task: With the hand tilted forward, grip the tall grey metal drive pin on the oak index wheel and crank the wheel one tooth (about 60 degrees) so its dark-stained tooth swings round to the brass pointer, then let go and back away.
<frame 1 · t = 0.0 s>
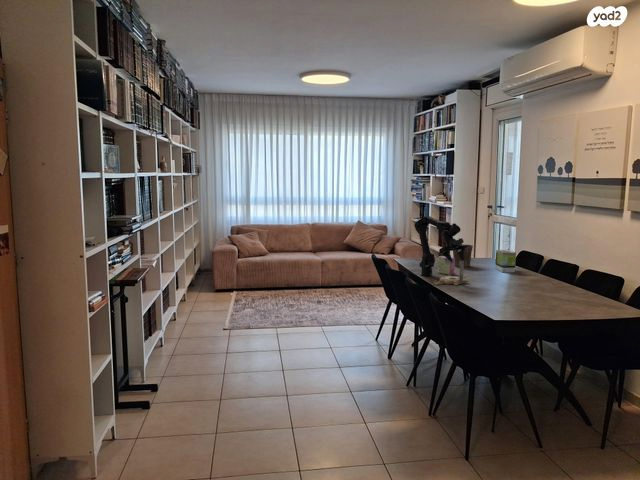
hand: (457, 261, 317), 15 cm above the table, tool tilted 35°, fingers open, 9 cm apart
tea box: (504, 270, 363), on the table
index wheel: (452, 270, 323), point 8 cm above the table, hinge at 0.0°
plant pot: (461, 266, 383), on the table
pointer: (437, 284, 318), on the table
box: (445, 273, 355), on the table
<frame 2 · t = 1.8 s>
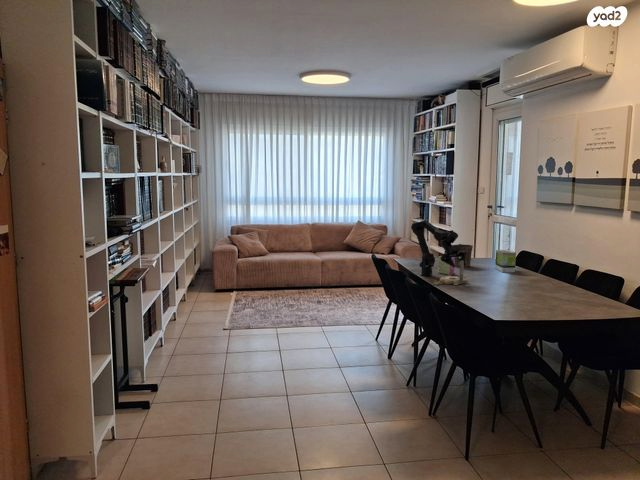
hand: (460, 266, 317), 11 cm above the table, tool tilted 45°, fingers open, 9 cm apart
nothing on the table moved.
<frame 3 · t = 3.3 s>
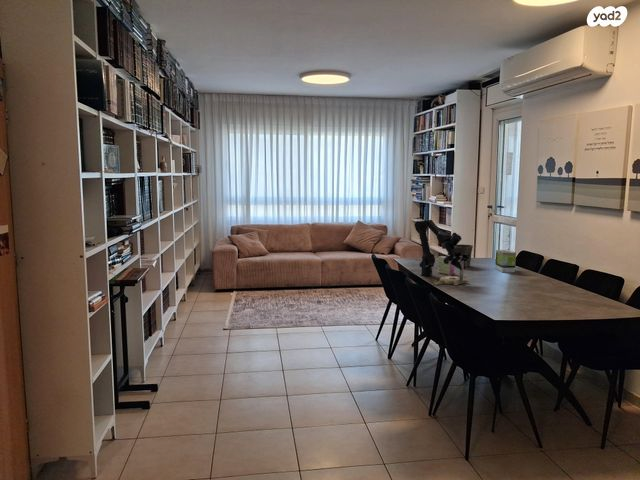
hand: (463, 269, 315), 10 cm above the table, tool tilted 45°, fingers closed on index wheel, 2 cm apart
index wheel: (452, 270, 323), point 8 cm above the table, hinge at 0.0°, touching gripper
everything else where it was.
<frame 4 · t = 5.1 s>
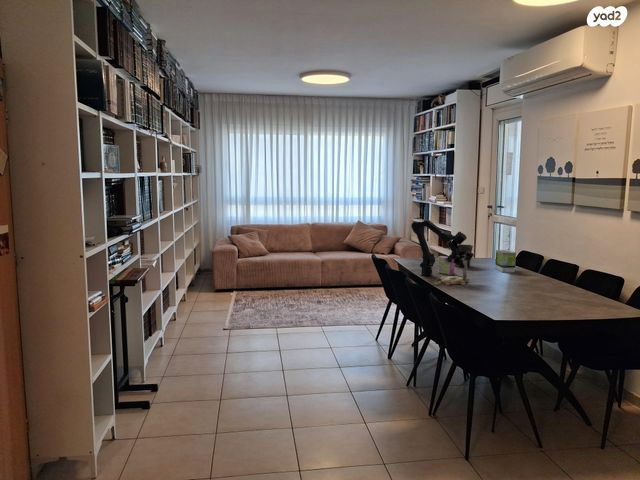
hand: (466, 267, 318), 10 cm above the table, tool tilted 45°, fingers open, 4 cm apart
index wheel: (452, 270, 323), point 8 cm above the table, hinge at 30.2°, touching gripper
everything else where it was.
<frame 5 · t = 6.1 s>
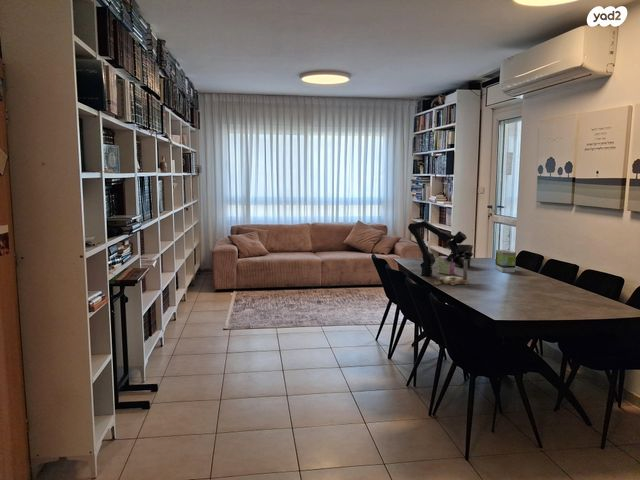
hand: (466, 266, 322), 10 cm above the table, tool tilted 45°, fingers open, 5 cm apart
index wheel: (452, 270, 323), point 8 cm above the table, hinge at 47.9°
everything else where it was.
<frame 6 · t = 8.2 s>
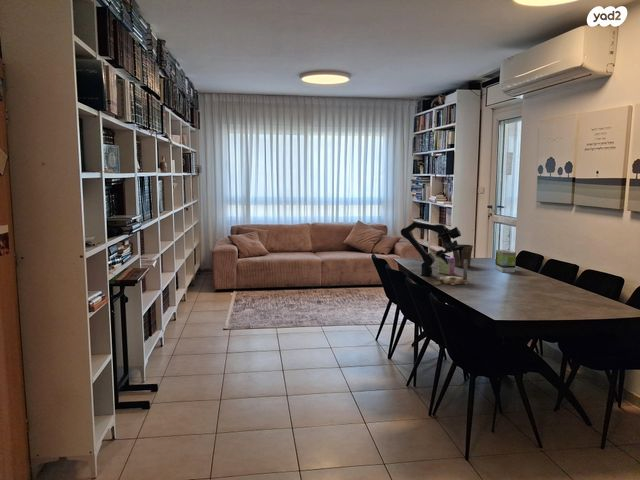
hand: (454, 262, 331), 12 cm above the table, tool tilted 30°, fingers open, 9 cm apart
nothing on the table moved.
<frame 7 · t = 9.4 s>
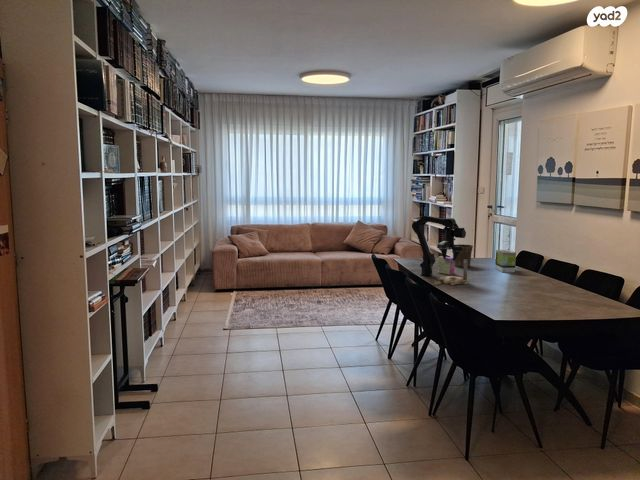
hand: (449, 259, 333), 13 cm above the table, tool pointing down, fingers open, 9 cm apart
nothing on the table moved.
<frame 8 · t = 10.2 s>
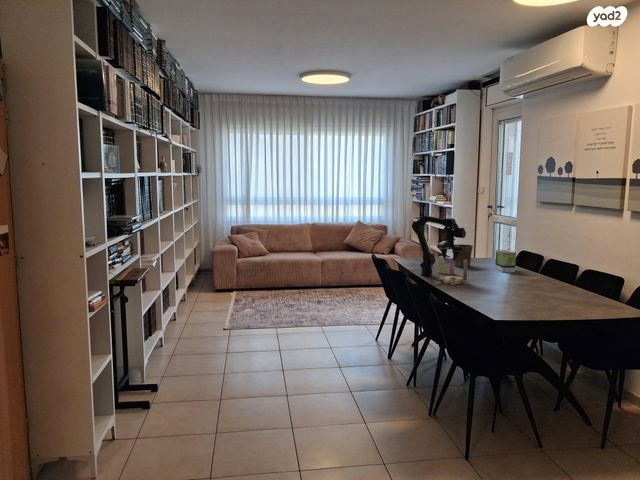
hand: (449, 259, 333), 13 cm above the table, tool pointing down, fingers open, 9 cm apart
nothing on the table moved.
at the end: index wheel at +48° (first picture: +0°); the gripper is holding nothing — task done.
